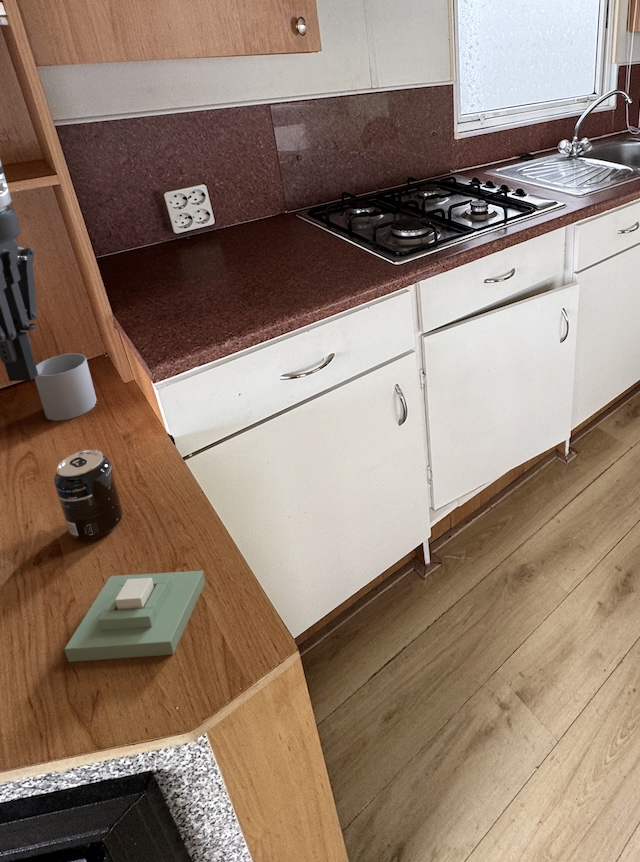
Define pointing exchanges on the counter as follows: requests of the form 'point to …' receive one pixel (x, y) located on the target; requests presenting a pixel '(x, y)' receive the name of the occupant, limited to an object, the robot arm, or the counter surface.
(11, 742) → the counter surface
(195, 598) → the tiered green stack
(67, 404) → the cup
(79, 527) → the beverage can
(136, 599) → the small white rectangular block
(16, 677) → the counter surface
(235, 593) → the counter surface
